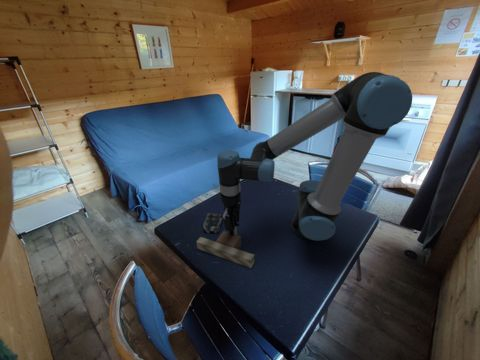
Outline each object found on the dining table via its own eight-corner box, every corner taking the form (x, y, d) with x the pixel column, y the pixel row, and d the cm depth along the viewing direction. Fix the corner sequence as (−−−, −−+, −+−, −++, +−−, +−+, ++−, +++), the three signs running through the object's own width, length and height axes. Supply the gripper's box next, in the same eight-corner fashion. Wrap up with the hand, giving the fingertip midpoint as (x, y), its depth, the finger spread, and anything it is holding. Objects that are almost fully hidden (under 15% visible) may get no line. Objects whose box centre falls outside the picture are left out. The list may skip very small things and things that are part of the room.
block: (241, 245, 94) (240, 236, 91) (234, 255, 89) (234, 246, 87) (224, 239, 97) (223, 230, 94) (217, 249, 92) (216, 240, 90)
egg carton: (219, 234, 100) (218, 227, 98) (202, 233, 101) (201, 226, 99) (223, 218, 109) (223, 212, 107) (208, 218, 110) (207, 211, 108)
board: (254, 262, 86) (254, 254, 84) (251, 268, 83) (251, 260, 82) (201, 243, 95) (200, 236, 93) (197, 248, 93) (196, 241, 91)
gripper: (229, 181, 90) (232, 226, 102) (212, 198, 80) (218, 246, 91) (246, 185, 87) (248, 231, 99) (231, 203, 77) (234, 252, 89)
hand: (233, 238), depth 95 cm, fingers closed
